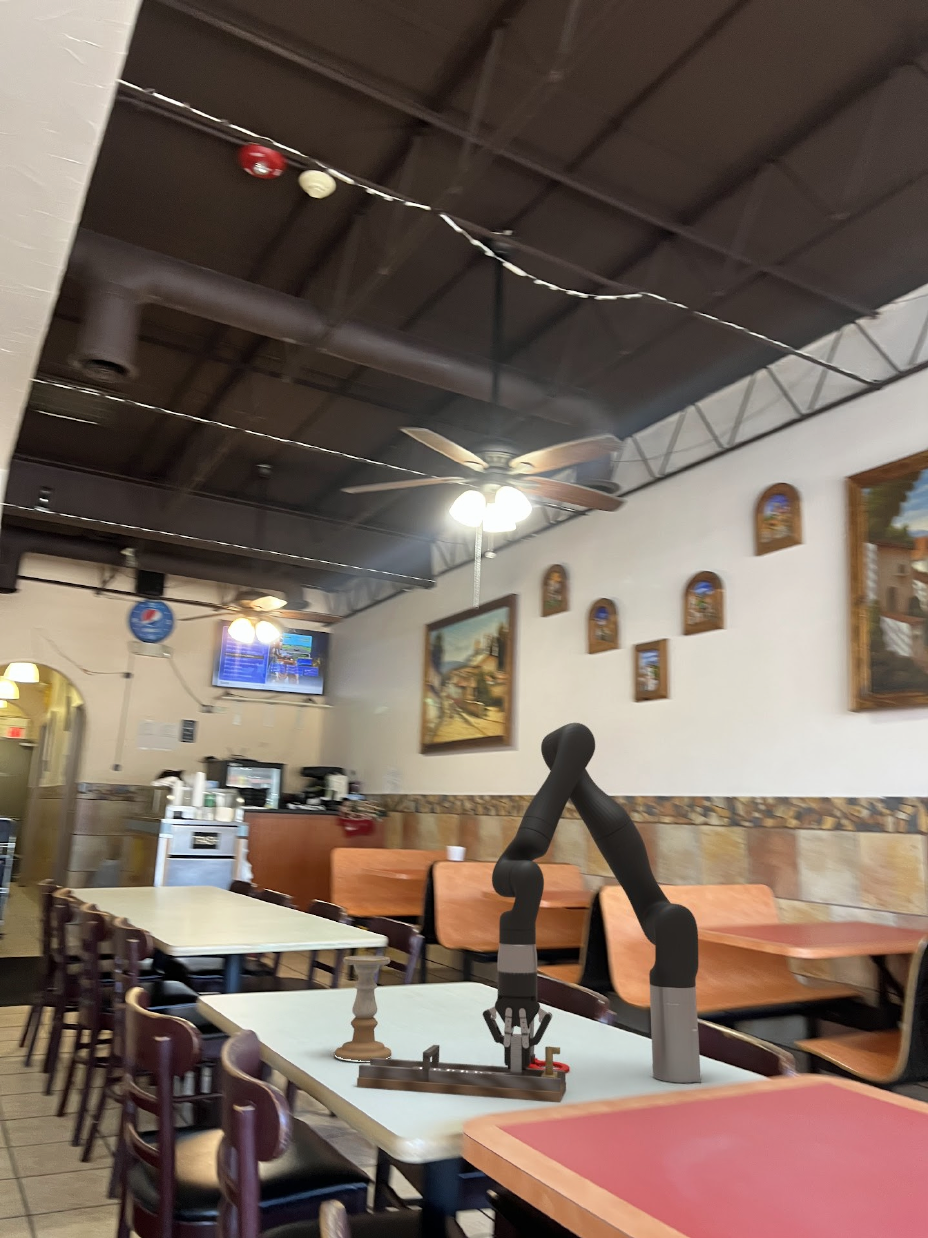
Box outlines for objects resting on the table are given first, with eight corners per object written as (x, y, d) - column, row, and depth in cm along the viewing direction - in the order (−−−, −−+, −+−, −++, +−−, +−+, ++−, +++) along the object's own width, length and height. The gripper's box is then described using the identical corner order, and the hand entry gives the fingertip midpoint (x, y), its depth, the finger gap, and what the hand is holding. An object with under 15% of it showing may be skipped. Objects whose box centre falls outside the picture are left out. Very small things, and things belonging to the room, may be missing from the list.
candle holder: (402, 1056, 194) (405, 957, 199) (366, 1066, 184) (370, 962, 189) (359, 1049, 200) (363, 954, 206) (322, 1058, 191) (327, 958, 196)
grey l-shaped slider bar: (524, 1081, 165) (524, 1034, 167) (521, 1085, 162) (521, 1037, 164) (413, 1073, 170) (414, 1028, 172) (408, 1077, 167) (410, 1030, 169)
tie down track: (566, 1090, 166) (565, 1043, 168) (560, 1102, 157) (559, 1053, 160) (372, 1076, 174) (374, 1032, 176) (356, 1087, 166) (358, 1040, 168)
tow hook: (575, 1071, 185) (533, 1064, 189) (576, 1004, 188) (535, 998, 192) (561, 1079, 177) (518, 1071, 181) (563, 1009, 181) (521, 1003, 184)
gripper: (556, 968, 171) (557, 1067, 167) (485, 965, 174) (485, 1062, 170) (550, 972, 164) (551, 1076, 160) (477, 969, 167) (476, 1071, 163)
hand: (517, 1068), depth 165 cm, fingers closed on grey l-shaped slider bar, 2 cm apart
